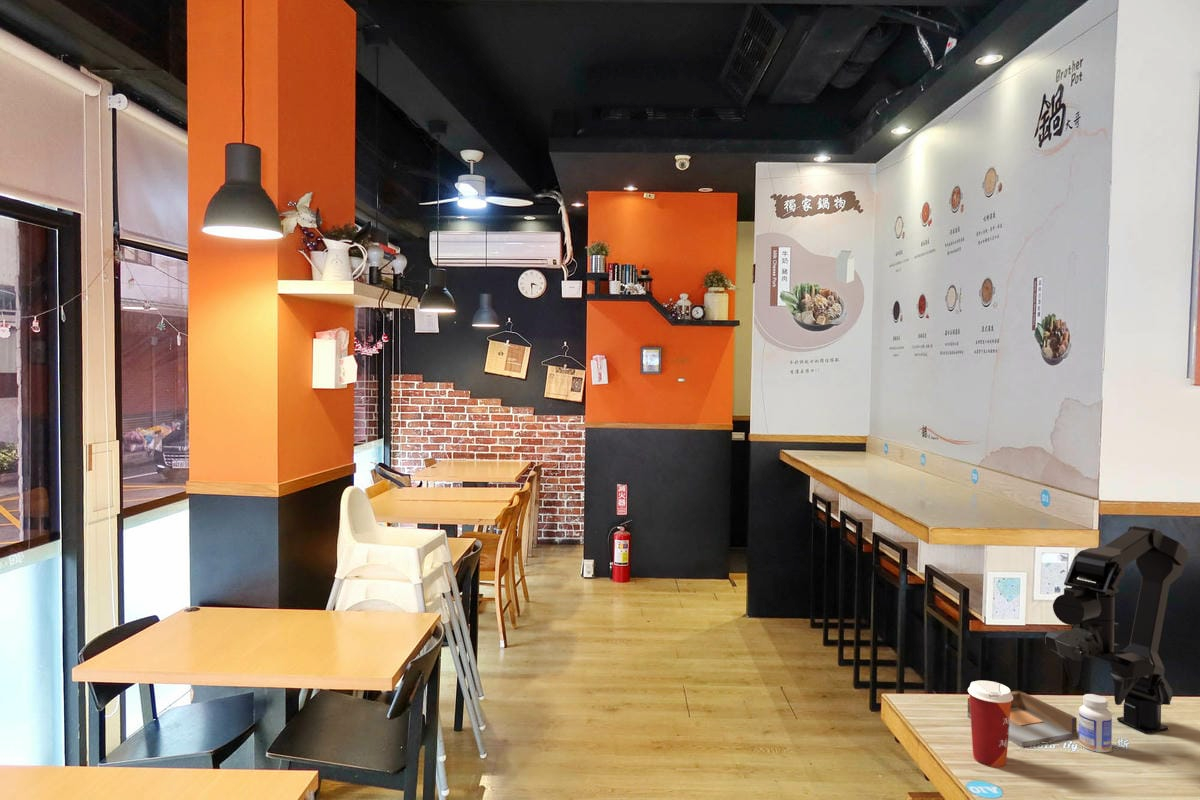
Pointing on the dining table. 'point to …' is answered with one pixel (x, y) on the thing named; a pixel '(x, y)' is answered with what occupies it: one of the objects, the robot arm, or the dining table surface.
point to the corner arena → (1037, 721)
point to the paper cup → (990, 721)
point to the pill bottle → (1095, 724)
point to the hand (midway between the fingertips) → (1095, 694)
